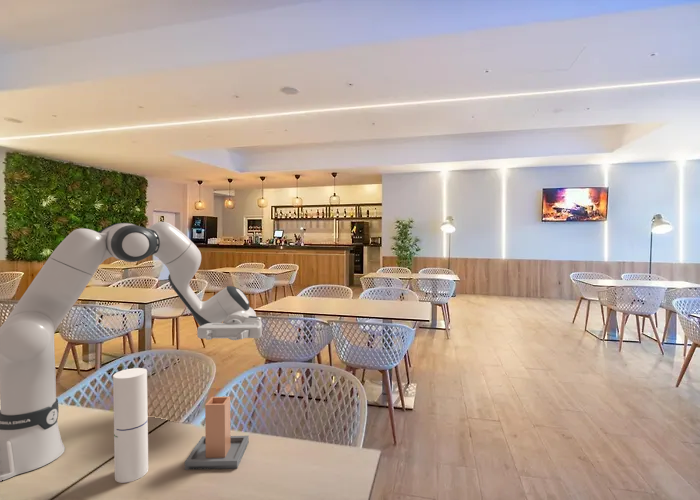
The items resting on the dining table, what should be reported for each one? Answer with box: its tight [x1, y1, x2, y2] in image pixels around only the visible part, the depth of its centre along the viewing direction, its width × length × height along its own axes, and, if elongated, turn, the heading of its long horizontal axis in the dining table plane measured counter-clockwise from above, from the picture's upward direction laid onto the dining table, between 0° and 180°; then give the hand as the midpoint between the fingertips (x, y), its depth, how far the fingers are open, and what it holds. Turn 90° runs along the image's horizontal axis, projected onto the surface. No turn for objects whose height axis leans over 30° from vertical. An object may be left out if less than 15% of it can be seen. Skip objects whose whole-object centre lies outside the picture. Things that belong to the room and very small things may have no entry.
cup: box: [204, 396, 232, 458], centre depth 99 cm, size 5×5×14 cm
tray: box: [184, 435, 249, 471], centre depth 99 cm, size 13×12×2 cm
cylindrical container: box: [112, 367, 149, 483], centre depth 91 cm, size 7×7×25 cm
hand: (223, 336), depth 113 cm, fingers open, 8 cm apart
